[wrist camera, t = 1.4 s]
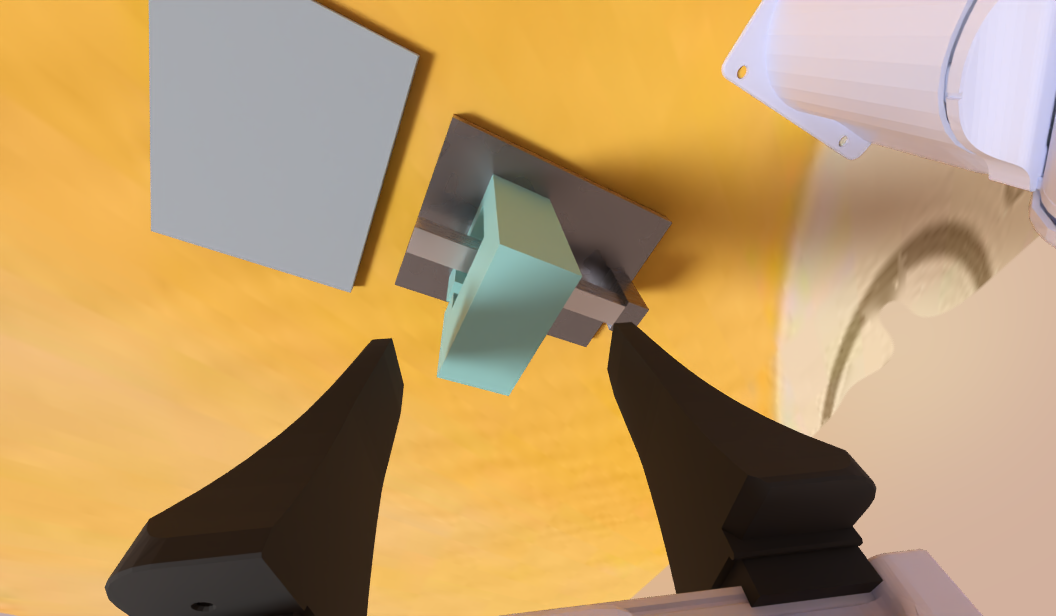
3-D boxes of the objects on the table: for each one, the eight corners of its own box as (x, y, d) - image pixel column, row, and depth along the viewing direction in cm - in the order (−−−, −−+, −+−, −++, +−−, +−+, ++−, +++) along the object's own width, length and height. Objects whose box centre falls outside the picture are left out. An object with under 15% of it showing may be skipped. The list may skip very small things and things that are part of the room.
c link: (549, 199, 20) (582, 276, 13) (500, 295, 23) (508, 395, 16) (492, 173, 19) (499, 244, 12) (449, 277, 22) (436, 377, 15)
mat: (419, 55, 17) (418, 55, 16) (353, 286, 22) (350, 292, 22) (159, -80, 14) (148, -84, 13) (159, 225, 19) (151, 230, 19)
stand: (666, 216, 22) (701, 251, 18) (583, 339, 26) (599, 386, 23) (453, 114, 18) (447, 133, 14) (397, 277, 22) (381, 322, 19)
